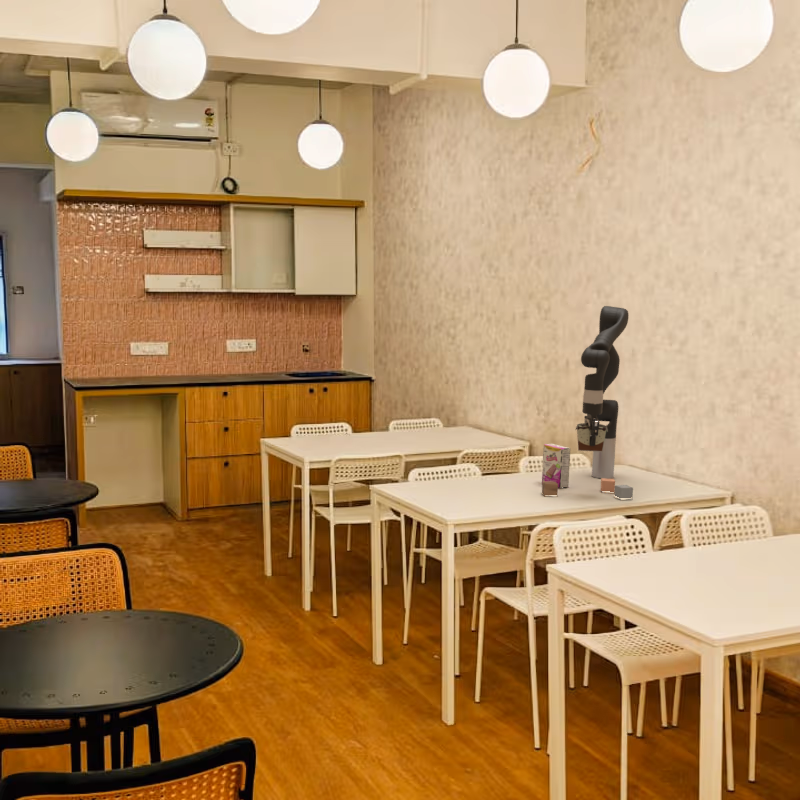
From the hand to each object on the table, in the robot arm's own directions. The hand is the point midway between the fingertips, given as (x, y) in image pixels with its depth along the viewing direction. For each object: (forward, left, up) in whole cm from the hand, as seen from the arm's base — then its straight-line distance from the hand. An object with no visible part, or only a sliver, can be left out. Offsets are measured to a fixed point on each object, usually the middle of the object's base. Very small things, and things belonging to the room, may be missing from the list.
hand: (590, 444), depth 390 cm
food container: (-1, 0, -2) cm, 3 cm away
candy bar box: (-18, -9, -21) cm, 29 cm away
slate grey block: (+4, +13, -20) cm, 25 cm away
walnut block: (0, -15, -20) cm, 25 cm away
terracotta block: (-8, +10, -20) cm, 24 cm away
